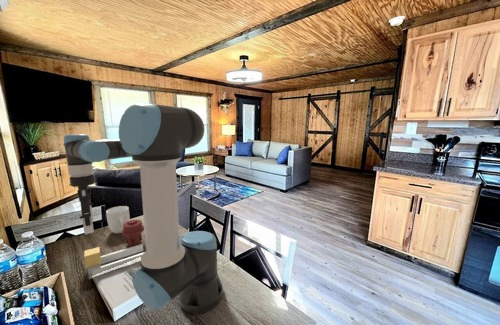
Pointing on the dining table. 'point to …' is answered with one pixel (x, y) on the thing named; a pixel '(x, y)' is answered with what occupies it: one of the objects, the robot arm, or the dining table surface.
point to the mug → (117, 218)
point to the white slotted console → (114, 256)
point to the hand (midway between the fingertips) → (89, 226)
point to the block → (92, 257)
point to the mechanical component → (133, 232)
